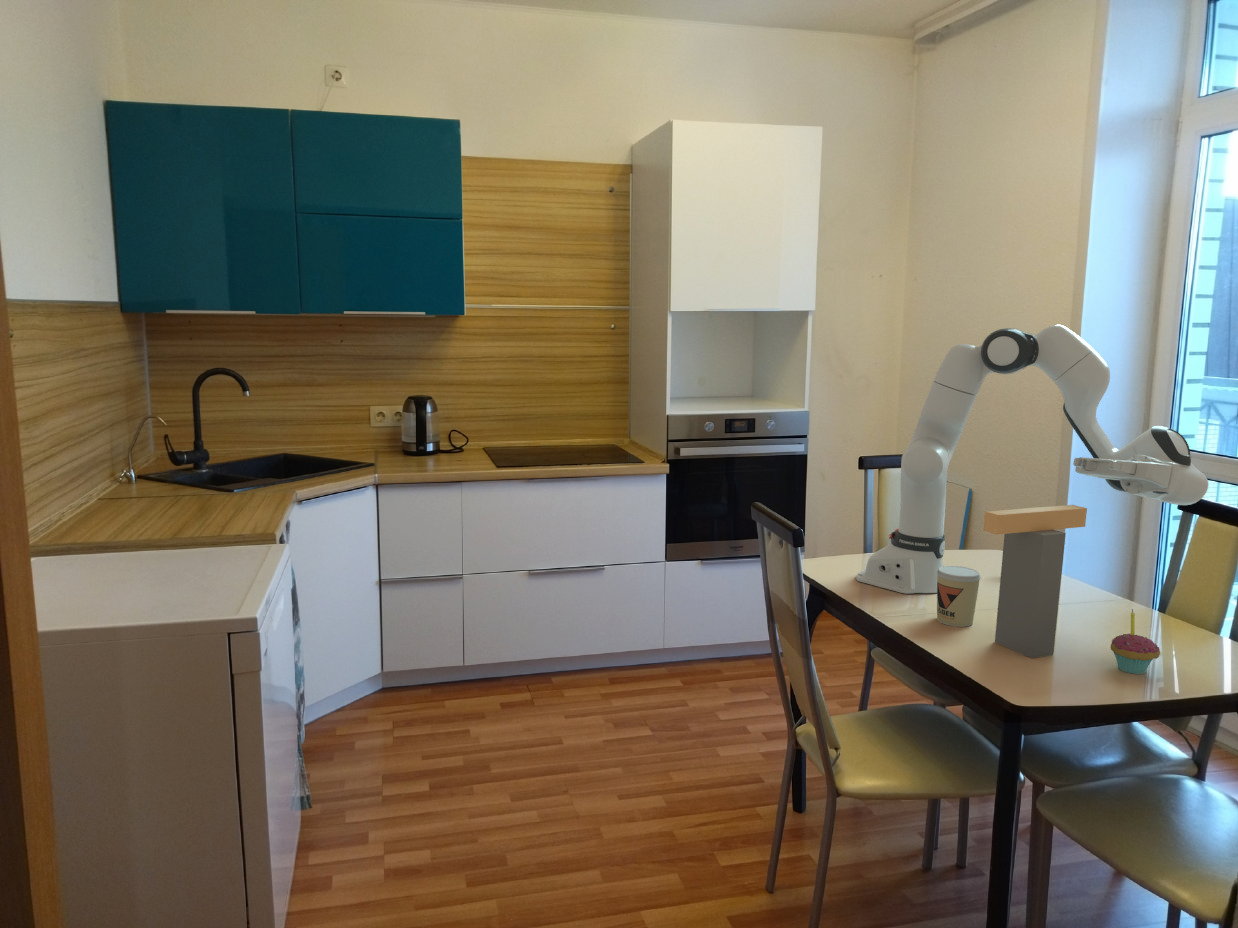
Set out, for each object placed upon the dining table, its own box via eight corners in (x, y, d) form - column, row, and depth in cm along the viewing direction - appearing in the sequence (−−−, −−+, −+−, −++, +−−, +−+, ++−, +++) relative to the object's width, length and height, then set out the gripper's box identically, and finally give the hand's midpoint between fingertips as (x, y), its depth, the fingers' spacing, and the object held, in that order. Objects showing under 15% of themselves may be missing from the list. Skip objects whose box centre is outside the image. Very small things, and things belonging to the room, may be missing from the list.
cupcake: (1098, 661, 181) (1105, 605, 179) (1138, 661, 182) (1144, 605, 180) (1126, 678, 173) (1132, 619, 171) (1167, 677, 173) (1174, 619, 171)
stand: (1016, 638, 194) (1027, 522, 189) (1053, 654, 184) (1065, 533, 180) (994, 641, 191) (1005, 524, 187) (1031, 658, 182) (1043, 535, 178)
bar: (1070, 523, 190) (1072, 504, 189) (1085, 526, 186) (1087, 508, 186) (983, 530, 181) (984, 511, 180) (996, 534, 178) (998, 515, 177)
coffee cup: (924, 617, 207) (928, 567, 205) (955, 612, 211) (959, 563, 209) (954, 630, 198) (958, 578, 197) (985, 625, 202) (990, 574, 200)
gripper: (1106, 458, 204) (1059, 446, 200) (1186, 464, 185) (1136, 451, 180) (1100, 485, 204) (1053, 473, 200) (1180, 494, 185) (1129, 481, 180)
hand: (1093, 463), depth 190 cm, fingers open, 8 cm apart
